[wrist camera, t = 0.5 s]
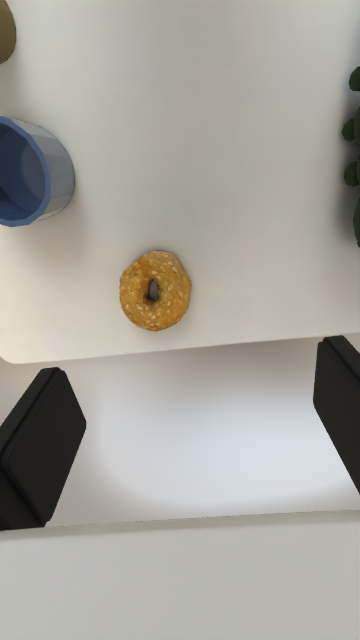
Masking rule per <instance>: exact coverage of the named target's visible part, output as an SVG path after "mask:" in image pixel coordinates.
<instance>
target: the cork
mask: <svg viewBox="0 0 360 640" xmlns="http://www.w3.org/2000/svg"><path fill="white" fill-rule="evenodd" d="M15 42H16V27H15V23H14V19H13V15H12V13H11V11H10V9H9V7H8V5H7V3H6V1H5V0H0V64H1V63H3V62H4V61H6V60H7V59H8V58H9V57H10V55H11V54H12V52H13V51H14V47H15Z"/></svg>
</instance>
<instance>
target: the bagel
mask: <svg viewBox="0 0 360 640" xmlns="http://www.w3.org/2000/svg"><path fill="white" fill-rule="evenodd" d="M154 280H155V282H156V283H157V286H158V287H159V289H158V295H159V296H158V298H157V299H156V301H153V300H149V299H148V298H147V294H148V293H149V285H150V283H151V282H152V281H154ZM191 286H192V285H191V280H190V277H189V276H188V275H187V274H186V272H185V270H184V268H183V266H182V264H181V263H180V261H179V260H178V258H177V256H176V255H174V254H173V253H170V252H164V251H150V252H148V253H146V254H144V255H143V256H141V257H140V258H139V259H138V260H136V261H134V262H133V264H132V265H131V266H130V267H129V268H128V269H127V270H125V271H124V272H123V274H122V276H121V278H120V288H119V289H120V293H119V294H120V302H121V307H122V309H123V311H124V313H125V314H126V316H127V317H128V319H129V320H130V321H131V322H132V323H134V324H135V325H136V326H138V327H142V328H144V329H147V330H150V331H159V330H162V329H166V328H168V327H170V326H172V325H174V324H176V323H177V322H179V321H180V320H181V318H182V317H183V315H184V314H185V313H186V311H187V309H188V306H189V301H190V292H191Z"/></svg>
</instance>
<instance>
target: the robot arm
mask: <svg viewBox="0 0 360 640" xmlns="http://www.w3.org/2000/svg"><path fill="white" fill-rule="evenodd" d="M313 403H314V407H315V409H316V411H317V413H318V415H319V417H320V419H321V421H322V423H323V425H324V427H325V429H326V431H327V433H328V434H329V436H330V438H331V440H332V442H333V444H334V446H335V448H336V450H337V452H338V454H339V456H340V457H341V459H342V461H343V463H344V465H345V467H346V469H347V471H348V473H349V475H350V476H351V479H352V480H353V482H354V484H355V486H356V488H357V490H358V492H359V494H360V353H359V352H358V351H357V350H356V349H355V348H354V347H353V346H352V345H351V344H350V342H349V341H348V340H347V339H346V338H345V337H344V336H342V335H341V336H331V337H325V338H324V339H323V342H319V343H318V348H317V361H316V371H315V383H314V394H313ZM85 430H86V420H85V417H84V415H83V413H82V410H81V408H80V406H79V403H78V401H77V398H76V396H75V394H74V392H73V389H72V387H71V384H70V382H69V380H68V378H67V375H66V373H65V371H63V370H61V369H60V368H58V367H53V368H45V369H42V370H40V372H39V373H38V374H37V376H36V377H35V379H34V380H33V381H32V383H31V384H30V386H29V387H28V389H27V390H26V391H25V393H24V394H23V395H22V397H21V398H20V400H19V401H18V402H17V404H16V405H15V407H14V408H13V410H12V411H11V412H10V414H9V415H8V417H7V418H6V419H5V421H4V422H3V424H2V425H1V426H0V640H360V510H343V511H315V512H297V513H278V514H258V515H239V516H221V517H205V518H187V519H169V520H152V521H135V522H119V523H104V524H88V525H72V526H58V527H45V524H46V522H48V521H50V519H51V518H52V516H53V513H54V511H55V508H56V505H57V503H58V500H59V498H60V495H61V492H62V490H63V487H64V485H65V482H66V479H67V477H68V474H69V472H70V469H71V467H72V464H73V461H74V459H75V456H76V453H77V451H78V448H79V445H80V443H81V440H82V438H83V435H84V433H85Z"/></svg>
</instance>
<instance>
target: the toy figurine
mask: <svg viewBox="0 0 360 640" xmlns="http://www.w3.org/2000/svg"><path fill="white" fill-rule="evenodd" d="M349 86H350V89H351V90H353V91H360V66H358V67H357V68H356V69H355V70H354V71H353V72H352V74H351V76H350V80H349ZM342 134H343V137H344V139H345V140H348V141H352V140H355V141H356V144H357V145H358V147H359V148H360V107H359V109H358V112H357V114H356V117H355V118H351V119H350V120H349V121H348V122H346V123H345V124H344V127H343V130H342ZM344 180H345V182H346V184H348V185H351V186H353V187H354V186H359V185H360V155H359V157H358V160H357V161H354V162H351V163H350V164H349V165H348V167H347V168H346V169H345V173H344ZM353 226H354V232H355V236H356V239H357V244H358V246H359V248H360V199H359V201H358V203H357V205H356V208H355V212H354V218H353Z"/></svg>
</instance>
